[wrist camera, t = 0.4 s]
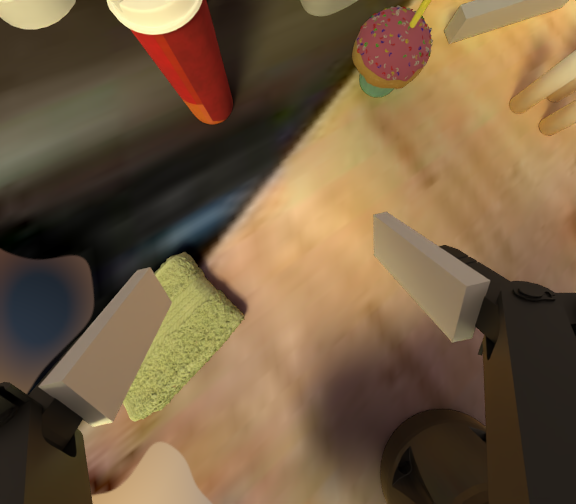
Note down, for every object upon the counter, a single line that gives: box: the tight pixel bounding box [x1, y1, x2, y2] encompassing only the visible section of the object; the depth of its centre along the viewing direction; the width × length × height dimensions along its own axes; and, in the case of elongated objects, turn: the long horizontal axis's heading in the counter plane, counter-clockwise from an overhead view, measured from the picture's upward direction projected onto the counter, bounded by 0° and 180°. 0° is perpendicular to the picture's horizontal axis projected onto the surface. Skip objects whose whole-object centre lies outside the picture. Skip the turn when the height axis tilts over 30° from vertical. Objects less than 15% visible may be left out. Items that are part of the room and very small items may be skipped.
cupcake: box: [352, 0, 433, 97], centre depth 24 cm, size 9×8×12 cm
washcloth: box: [123, 252, 245, 421], centre depth 27 cm, size 13×18×3 cm
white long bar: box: [444, 0, 569, 44], centre depth 29 cm, size 2×16×3 cm, turn 108°
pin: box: [509, 50, 576, 114], centre depth 25 cm, size 2×2×8 cm
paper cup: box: [107, 0, 233, 125], centre depth 23 cm, size 8×8×14 cm
